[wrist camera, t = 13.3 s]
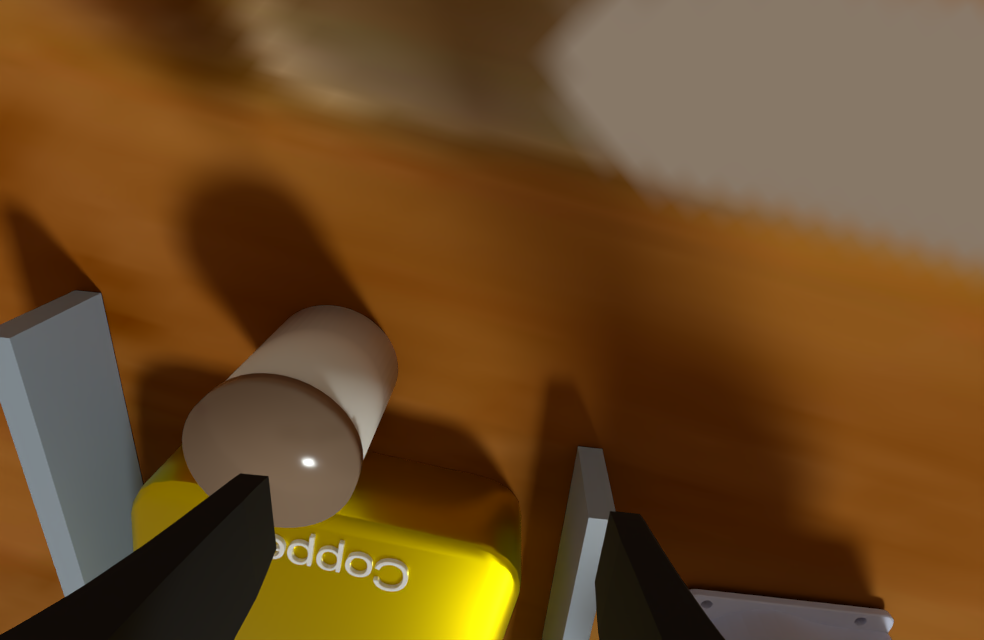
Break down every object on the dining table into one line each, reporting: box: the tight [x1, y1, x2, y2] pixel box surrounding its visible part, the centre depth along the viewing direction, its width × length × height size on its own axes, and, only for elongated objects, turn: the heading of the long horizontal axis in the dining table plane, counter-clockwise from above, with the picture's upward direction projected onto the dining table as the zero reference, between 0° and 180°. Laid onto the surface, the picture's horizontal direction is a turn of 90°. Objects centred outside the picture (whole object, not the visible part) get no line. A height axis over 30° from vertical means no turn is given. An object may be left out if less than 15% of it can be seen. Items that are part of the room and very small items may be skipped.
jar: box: [182, 305, 398, 528], centre depth 19 cm, size 5×5×6 cm
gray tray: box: [0, 290, 616, 640], centre depth 23 cm, size 21×24×4 cm
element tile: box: [131, 445, 521, 640], centre depth 24 cm, size 15×15×5 cm
